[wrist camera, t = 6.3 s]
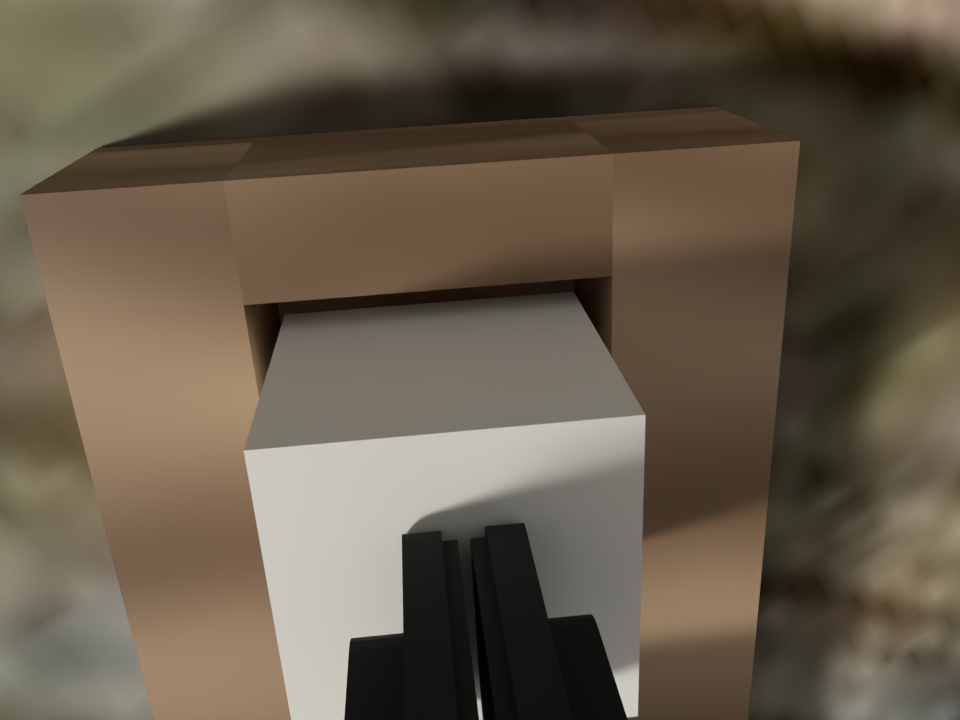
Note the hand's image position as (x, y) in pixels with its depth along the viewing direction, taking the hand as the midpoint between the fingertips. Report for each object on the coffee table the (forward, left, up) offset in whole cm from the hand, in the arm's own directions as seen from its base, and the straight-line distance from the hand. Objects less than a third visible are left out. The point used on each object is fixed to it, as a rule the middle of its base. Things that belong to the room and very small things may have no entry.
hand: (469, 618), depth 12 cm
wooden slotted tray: (+8, 0, -8) cm, 11 cm away
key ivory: (0, 0, -5) cm, 5 cm away
